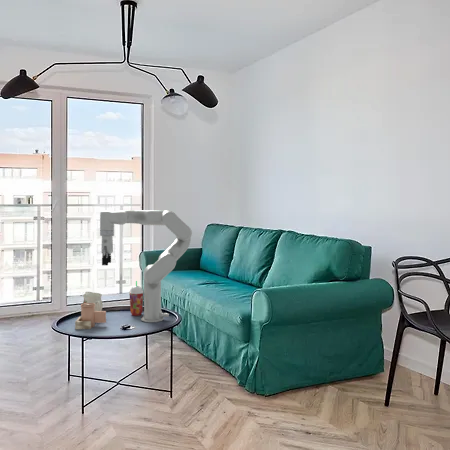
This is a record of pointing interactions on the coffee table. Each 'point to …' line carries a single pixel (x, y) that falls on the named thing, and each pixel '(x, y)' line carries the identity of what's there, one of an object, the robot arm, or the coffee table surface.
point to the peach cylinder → (92, 314)
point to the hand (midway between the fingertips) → (106, 263)
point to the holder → (82, 324)
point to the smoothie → (136, 300)
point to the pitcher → (93, 300)
